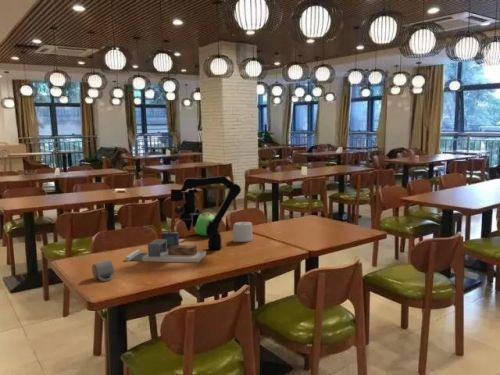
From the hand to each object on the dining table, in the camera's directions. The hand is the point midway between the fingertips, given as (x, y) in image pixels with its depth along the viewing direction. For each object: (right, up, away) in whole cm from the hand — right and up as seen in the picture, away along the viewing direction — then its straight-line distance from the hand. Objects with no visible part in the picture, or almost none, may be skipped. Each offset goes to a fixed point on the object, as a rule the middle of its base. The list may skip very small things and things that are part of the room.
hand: (191, 229), depth 243 cm
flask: (-13, -12, +8) cm, 19 cm away
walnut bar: (-3, -12, -13) cm, 18 cm away
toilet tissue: (+28, -9, +21) cm, 36 cm away
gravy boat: (+4, -8, +37) cm, 38 cm away
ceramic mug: (-34, -19, -42) cm, 57 cm away
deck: (-12, -14, -11) cm, 21 cm away
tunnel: (-16, -12, -11) cm, 23 cm away
